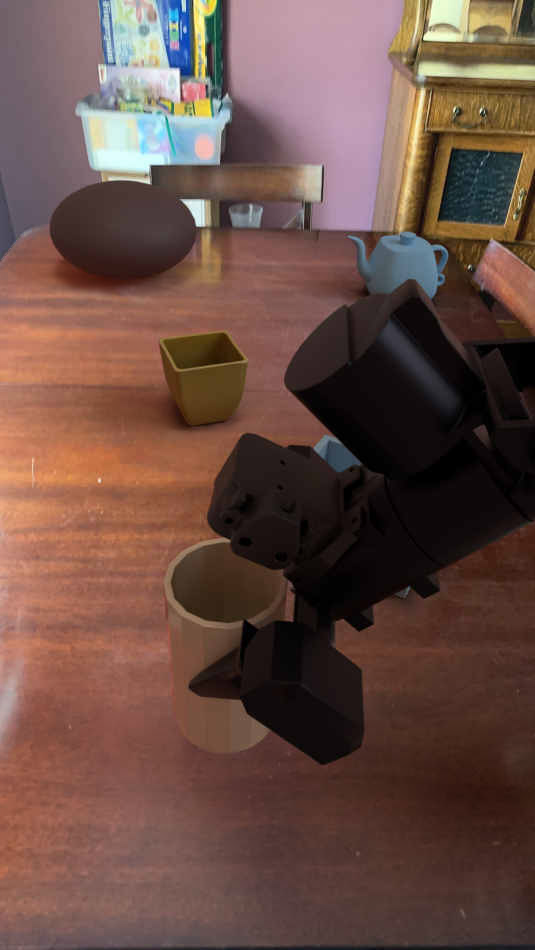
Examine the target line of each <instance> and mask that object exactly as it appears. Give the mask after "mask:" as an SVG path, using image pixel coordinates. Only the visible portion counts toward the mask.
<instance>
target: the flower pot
mask: <svg viewBox="0 0 535 950" xmlns="http://www.w3.org/2000/svg"><path fill="white" fill-rule="evenodd" d="M158 346H159V352H160V357H161V362H162V368H163V374H164V377H165V381H166V384H167V386H168V389H169V391H170V393H171V395H172V398H173V399H174V401H175V404H176V405H177V407H178V409H179V410H180V412H181V414H182V417H183V418H184V420H185V422H186V423H187V424H188V425H189V426H191V427H195V426H200V425H201V426H202V425H205V424H213V423H217V422H225V421H228V420H229V419H230V418H231V417H232V416H233V415H234V414H235V412H236V411H237V410H238V408H239V406H240V404H241V402H242V400H243V396H244V392H245V386H246V379H247V372H248V365H249V359H248V357H247V356H246V355H245V354H244V352H243V351H242V350H241V349H240V347H239V346H238V345H237V344H236V342H235V340H234V339H233V337H232V336H231V335H230V333H229V332H228V331H226V330H215V331H208V332H200V333H193V334H185V335H184V334H183V335H177V336H168V337H161V338H159V339H158Z"/></svg>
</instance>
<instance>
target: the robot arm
mask: <svg viewBox="0 0 535 950" xmlns="http://www.w3.org/2000/svg"><path fill="white" fill-rule="evenodd" d="M283 383H284V386H285V388H286V389H287V390H288V391H289V392H290V393H291V394H292V395H293V397H294V398H296V399H297V401H299V402H300V404H301V405H303V407H305V408H306V409H307V411H308V412H310V413H311V415H313V417H314V418H315V419H316V420H317V421H318V422H319V423H320V424H322V425H323V427H325V428H326V430H327V431H328V432H329V433H331V434H332V435H333V437H335V438H337V439H338V440H339V441H340V442H341V443H342V444H343V445H344V446H345V447H346V448H347V449H348V450H349V451H350V452H351V453H352V454H353V455H354V456H355V457H356V458H357V459H358V460H359V461H360V462H361V463H362V465H360V466H358V465H357V464H354V465H351V466H350V467H348V468H347V469H345V470H344V471H342V472H340V473H338V472H336V471H335V470H334V469H333V468H332V467H331V466H330V465H329V464H328V463H327V462H326V461H325V460H324V459H323V458H322V457H321V456H320V455H319V454H318V453H317V452H316V451H315V450H314V449H313V448H314V447H312V446H311V445H304V444H303V445H302V444H289V445H287V446H286V447H285V446H282V445H280V444H279V443H276V442H274V441H273V440H270V439H268V438H265V437H263V436H261V435H259V434H257V433H253V432H246V433H243V434H241V435H240V437H239V438H238V440H237V442H236V443H235V445H234V447H233V449H232V450H231V451H230V454H229V455H228V457H227V458H226V460H225V462H224V463H223V465H222V467H221V469H220V470H219V471H218V473H217V475H216V477H215V479H214V482H213V490H212V494H211V495H212V496H211V500H210V504H209V507H208V509H207V514H206V521H207V524H208V526H209V527H210V529H211V530H212V531H213V532H214V533H215V534H216V535H218V536H220V537H221V538H226V539H229V540H231V541H230V547H231V549H232V551H233V553H234V554H235V555H237V556H240V557H242V558H244V559H247V560H249V561H251V562H254V563H256V564H259V565H261V566H263V567H266V568H268V569H270V570H281V569H283V576H284V577H285V578H286V579H287V580H288V584H287V589H289V591H290V592H291V593H292V594H294V598H293V614H292V616H293V619H292V621H291V620H285V621H280V620H275V621H273V622H271V623H269V624H268V625H266V626H264V627H262V628H260V629H257V628H256V627H255V626H253V625H252V624H251V623H250V622H248V621H247V620H246V619H245V620H244V621H243V623H242V631H241V639H240V646H239V647H238V648H236V649H235V650H233V651H232V652H230V653H229V654H227V655H226V656H224V657H223V658H221V659H220V660H218V661H217V662H215V663H214V664H212V665H210V666H209V667H207V668H206V669H204V670H203V671H202V672H200V673H199V674H198V675H197V676H196V677H194V678H193V679H192V680H191V681H190V682H189V685H188V689H189V690H190V691H192V692H193V693H195V694H196V695H198V696H200V697H207V698H219V699H232V700H241V701H242V704H243V706H244V708H245V711H246V713H247V714H248V715H249V716H251V717H252V718H253V719H255V720H256V721H258V722H259V723H261V724H262V725H264V726H265V727H267V728H268V729H270V731H271V732H272V733H274V734H275V735H277V736H278V737H280V738H281V739H283V740H284V741H286V742H287V743H289V745H292V746H293V747H294V748H296V750H299V751H300V752H302V753H303V754H305V755H306V756H308V757H309V758H310V759H312V760H314V761H315V762H316V763H318V764H319V765H321V766H323V767H324V766H326V765H328V764H330V763H333V762H336V761H338V760H341V759H344V758H345V757H347V756H350V755H352V754H353V753H355V752H356V751H358V750H359V749H360V748H362V744H363V741H364V736H365V732H366V731H365V729H366V728H365V712H364V709H365V708H364V688H363V687H364V686H363V669H362V668H361V667H359V666H358V665H357V664H356V663H355V662H353V661H352V660H351V659H350V658H348V657H347V656H346V655H344V653H342V652H341V651H340V650H338V649H337V648H336V646H337V645H336V644H337V643H336V622H340V621H342V620H343V621H345V622H346V623H347V624H349V626H351V627H352V628H353V629H355V631H357V632H358V633H360V632H362V631H363V630H366V629H368V628H370V627H372V626H374V625H375V619H374V617H375V616H374V606H375V605H377V604H379V603H381V602H383V601H385V600H387V599H388V598H390V597H393V596H395V595H394V594H396V593H398V592H400V591H402V590H404V589H406V588H408V587H410V589H412V590H413V591H414V592H415V593H416V594H417V595H418V596H419V597H420V598H421V599H423V600H426V599H428V598H429V597H431V596H434V595H435V594H437V593H439V592H441V591H442V590H441V585H440V580H439V573H438V572H440V571H442V570H444V569H446V568H448V567H450V566H451V565H454V564H456V563H458V562H459V561H461V560H463V559H465V558H467V557H469V556H471V555H472V554H474V553H476V552H478V551H480V550H482V549H484V548H487V547H488V546H490V545H492V544H494V543H495V542H498V541H499V540H502V539H503V538H505V537H507V536H509V535H511V534H513V533H515V532H517V531H518V530H520V529H523V528H524V527H526V526H528V525H530V524H532V523H534V522H535V336H523V337H522V336H521V337H505V338H488V339H487V338H486V339H485V338H484V339H471V340H465V341H463V342H460V341H459V340H458V338H457V337H456V336H455V335H454V333H453V332H452V331H451V330H450V329H449V327H448V326H447V325H446V324H445V322H444V321H443V320H442V318H441V317H440V315H439V314H438V313H437V310H436V307H435V305H434V303H433V300H432V299H430V297H429V296H428V295H427V293H426V292H425V291H424V290H423V288H422V287H421V286H420V285H419V283H418V282H417V281H416V280H415V279H407V280H406V281H405V282H404V283H402V284H401V285H400V286H398V287H397V288H396V289H395V290H393V291H392V292H391V293H389V294H387V293H377V294H373V295H371V294H369V295H367V296H365V297H362V298H361V299H358V300H356V301H355V302H353V303H352V304H350V305H349V306H348V305H347V304H343V305H341V306H339V308H337V309H336V310H334V311H333V312H332V313H330V314H329V315H328V316H327V317H326V318H325V319H324V320H323V321H321V322H320V323H319V325H317V326H316V327H315V328H314V330H313V331H311V332H310V333H309V335H308V336H307V337H306V338H305V340H304V341H303V342H302V343H301V344H300V346H299V347H298V348H297V350H296V352H294V354H293V356H292V358H291V359H290V361H289V363H288V364H287V367H286V369H285V372H284V375H283ZM520 393H522V397H521V394H520ZM377 473H378V474H377Z"/></svg>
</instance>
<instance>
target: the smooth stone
mask: <svg viewBox="0 0 535 950" xmlns="http://www.w3.org/2000/svg"><path fill="white" fill-rule="evenodd" d="M197 229H198V228H197V222H196V219H195V217H194V216H193V213H192V211H191V210H190V208H189V207H188V205H186V204H185V202H184V201H183V200H181V198H179V197H177V196H176V195H175V194H174V193H172V192H170V191H169V190H166V189H164V188H162V187H159V186H157V185H155V184H151V183H147V182H143V181H137V180H127V179H115V180H113V179H112V180H106V181H101V182H100V181H99V182H96V183H92V184H88V185H85V186H84V187H81V188H79V189H77V190H75V191H73V192H71V193H70V194H69V195H68V196H66V197H65V198H64V199H63V200H61V201H60V202H59V204H58V205H57V206H56V208H55V209H54V211H53V213H52V214H51V217H50V220H49V236H50V239H51V242H52V245H53V246H54V248H55V249H56V251H57V252H58V253H59V254H60V256H61V257H62V258H63V259H64V260H65V261H66V262H68V263H69V264H71V265H72V266H73V267H75V268H77V269H79V270H81V271H83V272H85V273H88V274H90V275H94V276H98V277H102V278H107V279H113V280H137V279H145V278H148V277H152V276H155V275H159V274H160V273H164V272H167V271H168V270H171V269H172V268H174V267H175V266H177V265H178V264H180V263H181V262H182V261H184V259H185V258H186V257H187V256H188V255H189V254H190V252H191V251H192V249H193V247H194V245H195V243H196V240H197V233H198V232H197V231H198V230H197Z"/></svg>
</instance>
